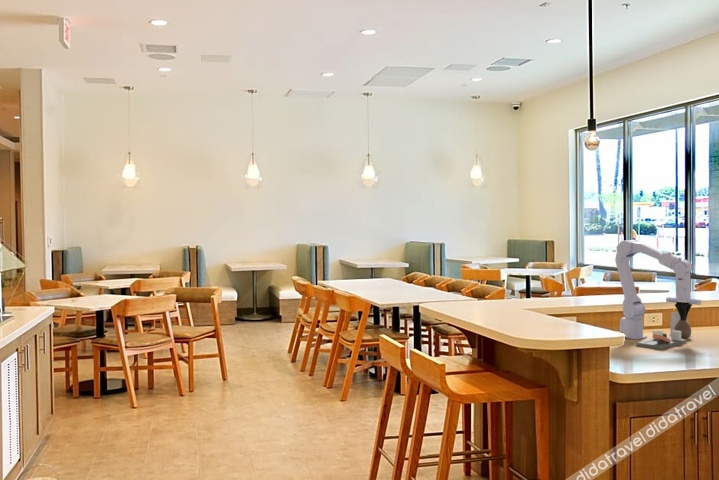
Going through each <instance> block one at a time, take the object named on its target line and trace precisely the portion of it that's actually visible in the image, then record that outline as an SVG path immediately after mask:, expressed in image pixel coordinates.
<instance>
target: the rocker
mask: <svg viewBox="0 0 719 480" xmlns="http://www.w3.org/2000/svg"><path fill="white" fill-rule="evenodd" d="M653 338H654V339H656V340H658V341H666V343H670V342H671V340H670V339H668V338H666V337H664V336H662V335H654V334H653V333H652V339H653Z"/></svg>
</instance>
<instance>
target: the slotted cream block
mask: <svg viewBox="0 0 719 480" xmlns="http://www.w3.org/2000/svg"><path fill="white" fill-rule="evenodd" d="M663 333H664V332H663V330H662V329H653V330H652V335H653V334H654V335H662V336H663ZM652 339H654V338H653V337H652Z"/></svg>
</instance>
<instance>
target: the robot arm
mask: <svg viewBox="0 0 719 480" xmlns="http://www.w3.org/2000/svg"><path fill="white" fill-rule="evenodd" d="M615 248H616V255H615V259H614V260H615V265H616V268H617V273H618V277H619V281H620V283H621V285H620V286H621V288H622V292H623V295H624V296H623V297H624V299H623V300H622V313H623V317H621V318H620V321H619V333H620V332H621V333H624V334H625V335H626V338H625V339H631V340H641V339H646V338H648V336H647V335H644V317H643V315H645V313H646V307H645V305H644V303H643V301H642V298H640V297H639V296H638V293H637V289H636V285H635V282H634V277H633V274H632V271H631V267H630V261H631V259H632V258H633V257H634V256H636V254H638V253H641V254H645V255H646V256H649V257H651V258H653V259H656V260H657V261H658V263H659V264H660V265H663V266H664V267H666V268H668V269H670V270H672V271H673V272H674V273H675V297H665V300H666V301H665V303H675V304H674V307H675V308H676V310H677V312H679V315H680V318H681V320H683V321H685V320H686V319H687V316H688V314H689V312H690V310H691V308H692V307H693V305H697V306H700V305H702V299H696V298H691V296H692V295H691V293H692V291H691V272H692V270H693V264H692V262H691V261H689V260H688V259H682V257H680V256H679V257H678V256H675V255H673V254H672V253H673V252H671V251H668V252H667V251H664V252H661V251H659V250H657V249H655V248H653V247H651V246H649V245H647V244H646V243H644V242H642V241H640V240H637V239H630V240H622V241H620V242H619V243H618V244H617V245H616V247H615Z"/></svg>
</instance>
